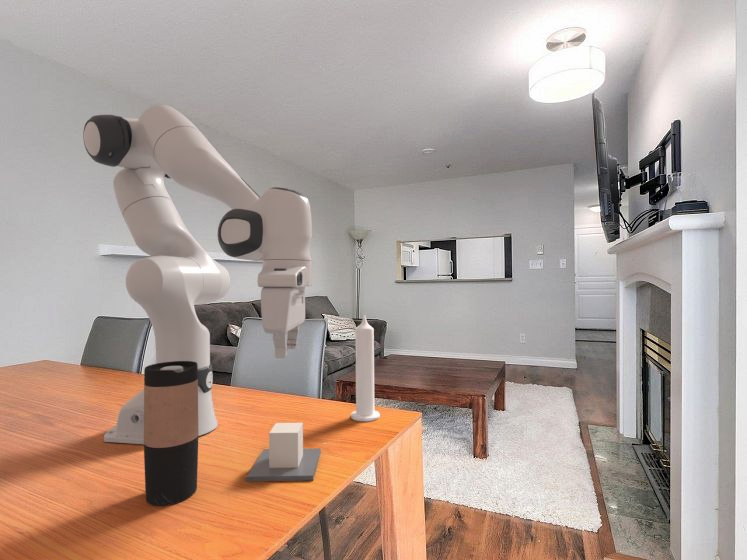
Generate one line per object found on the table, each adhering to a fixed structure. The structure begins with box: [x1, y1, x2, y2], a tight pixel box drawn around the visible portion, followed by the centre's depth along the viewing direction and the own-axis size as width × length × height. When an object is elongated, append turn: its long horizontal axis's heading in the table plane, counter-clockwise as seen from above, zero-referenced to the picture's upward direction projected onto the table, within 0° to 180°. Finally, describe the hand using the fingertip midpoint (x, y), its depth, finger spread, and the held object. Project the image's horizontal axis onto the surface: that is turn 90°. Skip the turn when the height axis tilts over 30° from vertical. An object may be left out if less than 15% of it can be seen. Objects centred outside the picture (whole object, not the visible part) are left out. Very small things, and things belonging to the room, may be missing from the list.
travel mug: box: [143, 361, 199, 507], centre depth 62 cm, size 8×8×20 cm
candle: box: [350, 314, 381, 422], centre depth 98 cm, size 7×7×25 cm
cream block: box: [268, 422, 304, 468], centre depth 71 cm, size 5×5×6 cm
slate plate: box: [245, 447, 322, 482], centre depth 71 cm, size 11×11×1 cm
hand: (286, 352), depth 73 cm, fingers open, 8 cm apart
